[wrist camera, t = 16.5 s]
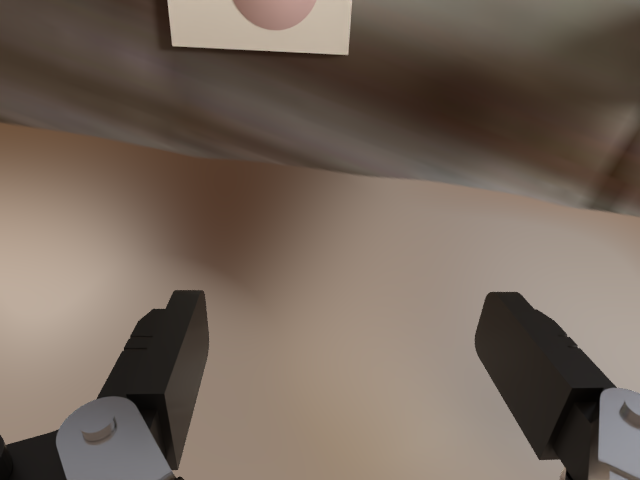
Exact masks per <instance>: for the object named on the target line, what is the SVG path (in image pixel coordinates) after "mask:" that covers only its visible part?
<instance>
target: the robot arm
mask: <svg viewBox="0 0 640 480" xmlns="http://www.w3.org/2000/svg"><path fill="white" fill-rule="evenodd" d="M475 348H476V351H477V354H478V356H479V358H480V360H481V362H482V363H483V365H484V367H485V369H486V370H487V372H488V374H489V375H490V377H491V379H492V380H493V382H494V384H495V386H496V387H497V389H498V390H499V392H500V394H501V396H502V397H503V399H504V401H505V402H506V404H507V406H508V407H509V409H510V411H511V413H512V414H513V416H514V417H515V419H516V421H517V423H518V425H519V426H520V428H521V430H522V431H523V433H524V435H525V436H526V438H527V440H528V441H529V443H530V445H531V447H532V448H533V450H534V452H535V453H536V455H537V457H538V459H539V460H552V459H553V460H554V459H560V460H561V462H562V463H563V465H564V469H563V471H562V472H561V475H560V480H640V394H639V393H637V392H634V391H631V390H628V389H623V388H617V387H616V386H615V385H614V384H613V383H612V382H611V381H610V380H609V379H608V378H607V377H606V376H605V375H604V373H603V372H602V371H601V370H600V369H599V368H598V367H597V366H596V365H595V364H594V363H593V362H592V361H591V360H590V358H589V357H588V356H587V355H586V354H585V353H584V352H583V351H582V350H581V349H580V348H578V347H577V344H576V343H575V342H574V341H573V340H572V339H571V338H570V337H567V334H566V333H565V332H564V331H563V330H562V328H561V327H560V326H559V325H558V324H557V323H556V322H555V321H554V320H552V319H551V318H549V317H548V316H546V315H545V314H543V313H542V312H540V311H538V310H534V308H533V307H532V306H531V305H530V304H529V303H528V302H527V301H526V300H525V298H524V297H523V296H522V295H521V294H520V293H518V292H490V293H489V294H488V295H487V296H486V299H485V302H484V305H483V309H482V313H481V316H480V319H479V323H478V327H477V330H476V334H475ZM208 349H209V331H208V321H207V311H206V301H205V294H204V291H202V290H175V291H174V292H173V294H172V296H171V298H170V300H169V302H168V304H167V307H166V309H153V310H151V311H150V312H149V313H148V314H147V315H145V316H144V317H143V318H142V319H141V320H140V321H138V323H137V325H136V327H135V328H134V330H133V332H132V334H131V336H130V339H129V340H128V341H127V343H126V345H125V347H124V351H122V353H121V354H120V356H119V358H118V360H117V362H116V364H115V366H114V367H113V369H112V371H111V373H110V375H109V377H108V379H107V381H106V382H105V384H104V386H103V388H102V390H101V392H100V394H99V395H98V397H97V399H96V400H94V401H91V402H89V403H87V404H85V405H83V406H81V407H80V408H78V409H77V410H75V411H74V412H73V413H72V414H71V415H70V416H69V417H68V418H67V419H66V420H65V421H64V422H63V424H62V425H61V427H60V429H58V430H56V431H53V432H51V433H47V434H44V435H40V436H36V437H33V438H29V439H26V440H22V441H19V442H15V443H11V444H8V445H5V443H4V440H3V438H2V437H1V435H0V480H184V479H183V478H182V477H178V478H176V477H175V476H174V474H173V472H172V471H171V470H178V468H179V464H180V460H181V456H182V452H183V448H184V445H185V440H186V437H187V433H188V429H189V426H190V422H191V418H192V414H193V410H194V406H195V403H196V398H197V395H198V391H199V387H200V383H201V379H202V376H203V372H204V368H205V364H206V360H207V356H208Z"/></svg>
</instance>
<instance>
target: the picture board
mask: <svg viewBox="0 0 640 480" xmlns="http://www.w3.org/2000/svg"><path fill="white" fill-rule="evenodd" d="M167 1H168V10H169V20H170V29H171V38H172V46H179V47H199V48H219V49H239V50H259V51H279V52H299V53H318V54H338V55H348V50H349V36H350V22H351V8H352V0H167Z"/></svg>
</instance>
